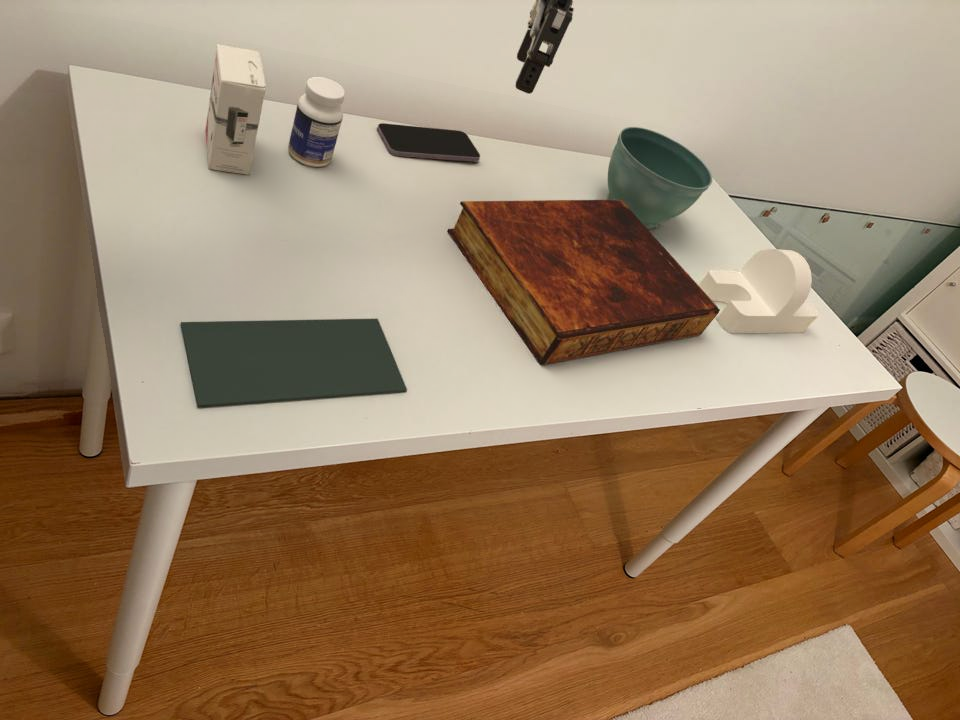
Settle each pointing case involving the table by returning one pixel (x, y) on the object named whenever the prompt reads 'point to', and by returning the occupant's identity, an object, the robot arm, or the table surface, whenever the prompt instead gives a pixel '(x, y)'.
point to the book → (579, 276)
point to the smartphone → (427, 142)
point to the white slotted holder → (764, 294)
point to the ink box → (234, 109)
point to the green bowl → (655, 175)
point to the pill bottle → (317, 122)
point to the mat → (288, 360)
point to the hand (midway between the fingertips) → (523, 75)
